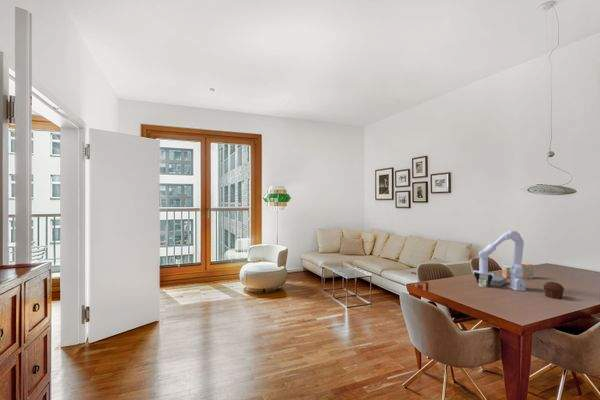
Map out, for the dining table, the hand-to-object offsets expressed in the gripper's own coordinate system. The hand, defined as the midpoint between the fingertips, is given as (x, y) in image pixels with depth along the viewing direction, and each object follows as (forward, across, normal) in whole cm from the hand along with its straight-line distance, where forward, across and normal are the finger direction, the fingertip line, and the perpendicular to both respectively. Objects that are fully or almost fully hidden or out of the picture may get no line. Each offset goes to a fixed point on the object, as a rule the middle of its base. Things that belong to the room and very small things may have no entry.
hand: (483, 283), depth 236 cm
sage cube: (+2, 0, 0) cm, 2 cm away
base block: (+2, 0, -16) cm, 16 cm away
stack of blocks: (+2, -9, -50) cm, 51 cm away
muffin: (+2, -41, -7) cm, 42 cm away
